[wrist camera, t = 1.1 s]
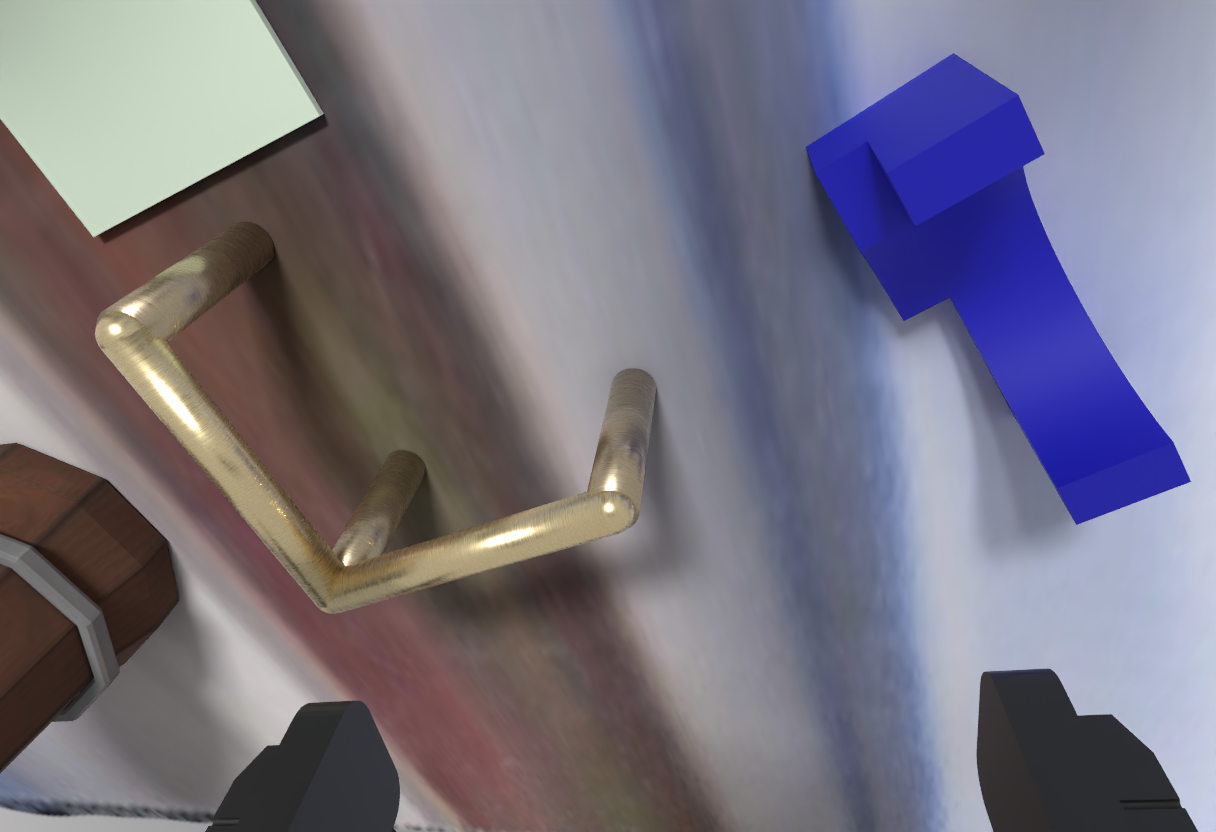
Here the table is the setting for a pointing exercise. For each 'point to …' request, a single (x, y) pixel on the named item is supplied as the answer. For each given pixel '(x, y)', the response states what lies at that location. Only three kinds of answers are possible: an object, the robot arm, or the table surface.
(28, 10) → the pad
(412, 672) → the table surface
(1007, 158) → the cable clip
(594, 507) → the wire track
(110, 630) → the mug
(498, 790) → the table surface
